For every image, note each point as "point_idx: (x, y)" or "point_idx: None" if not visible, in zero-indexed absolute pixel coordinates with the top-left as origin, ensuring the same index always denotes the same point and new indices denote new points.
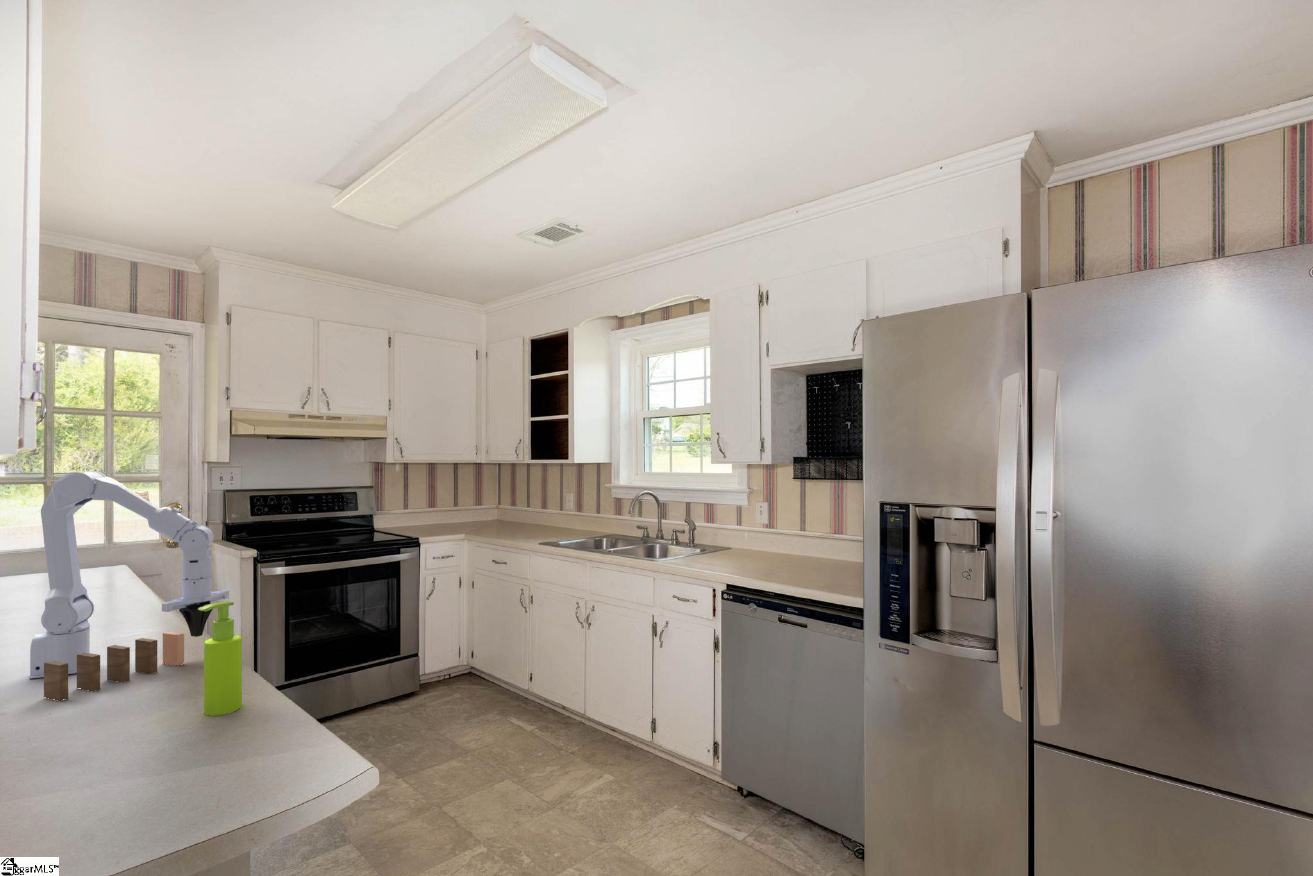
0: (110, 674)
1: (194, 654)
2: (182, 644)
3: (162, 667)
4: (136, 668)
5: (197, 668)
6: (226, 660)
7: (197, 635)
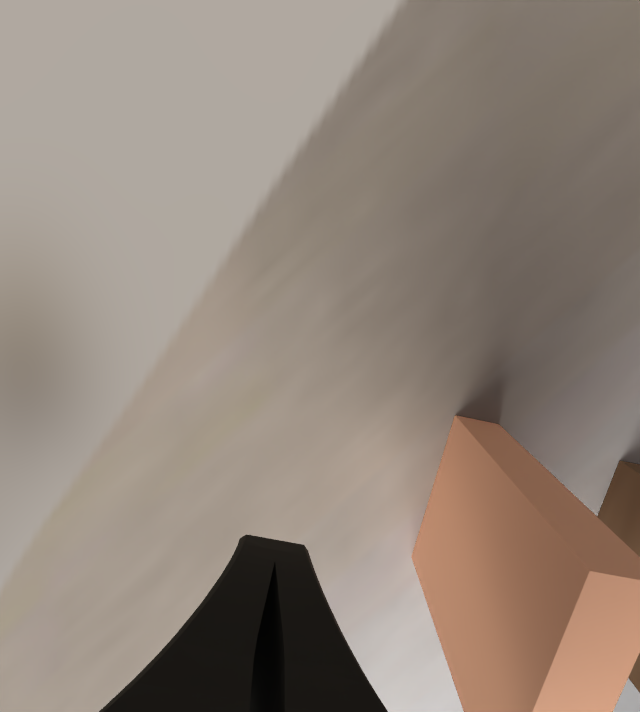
0: None
1: (230, 527)
2: (538, 497)
3: None
4: None
5: (547, 231)
6: None
7: (302, 551)
